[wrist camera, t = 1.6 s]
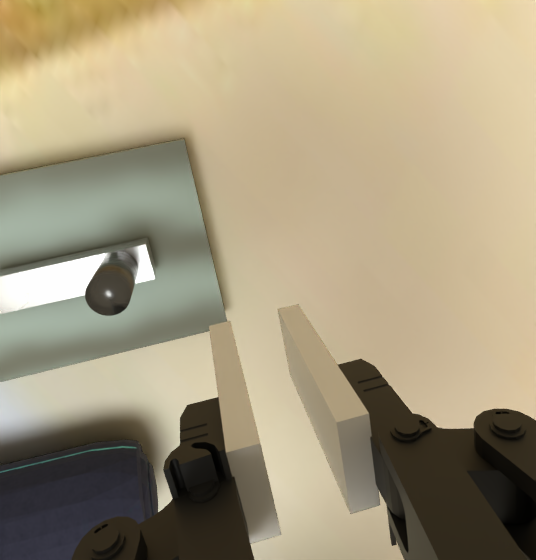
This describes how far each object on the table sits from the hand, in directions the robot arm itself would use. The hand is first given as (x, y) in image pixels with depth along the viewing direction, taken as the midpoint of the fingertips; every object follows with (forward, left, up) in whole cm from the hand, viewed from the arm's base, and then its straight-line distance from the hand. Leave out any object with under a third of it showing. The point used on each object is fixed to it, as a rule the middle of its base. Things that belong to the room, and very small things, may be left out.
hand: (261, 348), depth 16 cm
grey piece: (0, +10, -17) cm, 20 cm away
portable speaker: (-19, +22, -21) cm, 36 cm away
